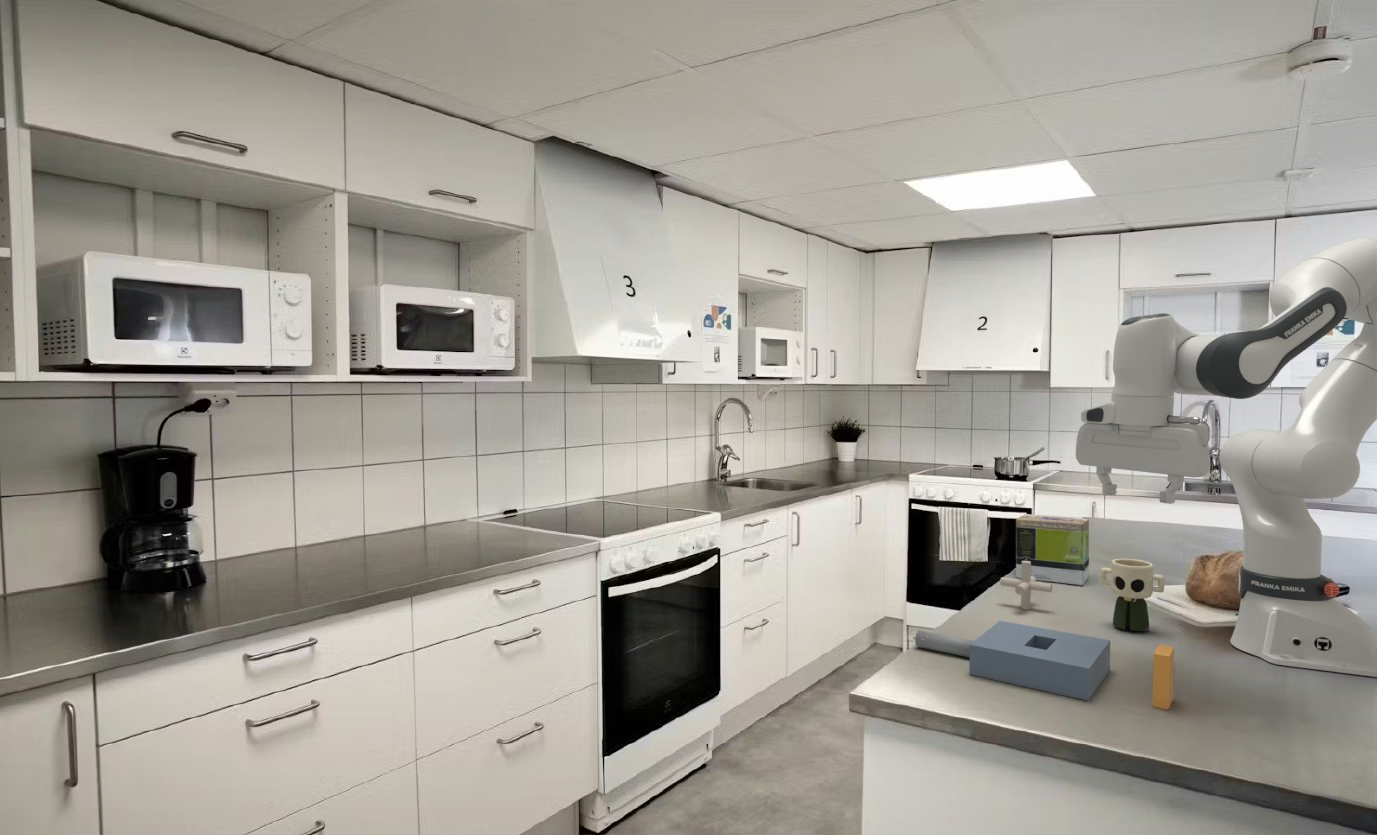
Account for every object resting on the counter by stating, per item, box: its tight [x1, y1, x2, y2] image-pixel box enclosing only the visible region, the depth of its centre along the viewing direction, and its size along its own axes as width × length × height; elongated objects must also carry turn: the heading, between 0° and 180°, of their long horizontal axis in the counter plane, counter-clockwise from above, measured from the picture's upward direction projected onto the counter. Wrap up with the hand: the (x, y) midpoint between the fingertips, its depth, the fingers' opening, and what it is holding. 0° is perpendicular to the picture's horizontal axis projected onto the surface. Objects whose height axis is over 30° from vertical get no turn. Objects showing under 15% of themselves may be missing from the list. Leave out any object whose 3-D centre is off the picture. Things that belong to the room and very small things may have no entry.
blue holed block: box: [914, 620, 1111, 701], centre depth 136 cm, size 30×16×5 cm, turn 52°
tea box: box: [1015, 513, 1090, 586], centre depth 192 cm, size 15×10×15 cm, turn 56°
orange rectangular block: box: [1152, 644, 1175, 710], centre depth 119 cm, size 5×2×8 cm, turn 142°
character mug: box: [1100, 558, 1165, 632], centre depth 153 cm, size 11×7×13 cm, turn 50°
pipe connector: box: [999, 561, 1053, 611], centre depth 167 cm, size 10×10×10 cm
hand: (1137, 498), depth 129 cm, fingers open, 8 cm apart
